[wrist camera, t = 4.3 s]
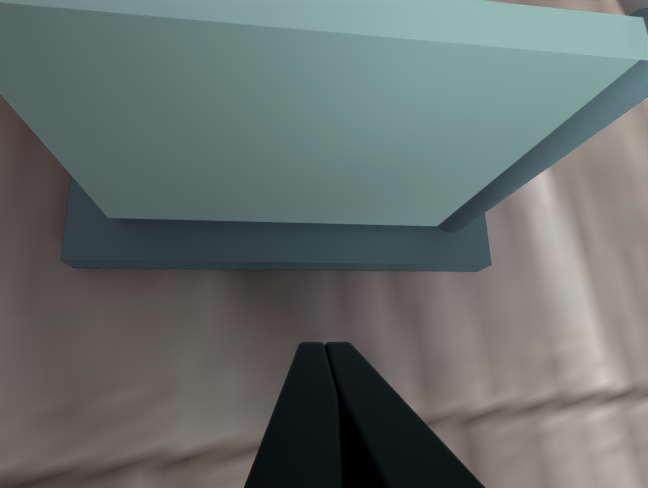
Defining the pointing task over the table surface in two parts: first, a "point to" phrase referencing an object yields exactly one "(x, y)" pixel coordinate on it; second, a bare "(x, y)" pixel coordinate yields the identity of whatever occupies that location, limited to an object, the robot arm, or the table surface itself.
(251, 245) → the housing
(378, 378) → the robot arm
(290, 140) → the door
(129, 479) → the table surface
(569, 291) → the table surface
